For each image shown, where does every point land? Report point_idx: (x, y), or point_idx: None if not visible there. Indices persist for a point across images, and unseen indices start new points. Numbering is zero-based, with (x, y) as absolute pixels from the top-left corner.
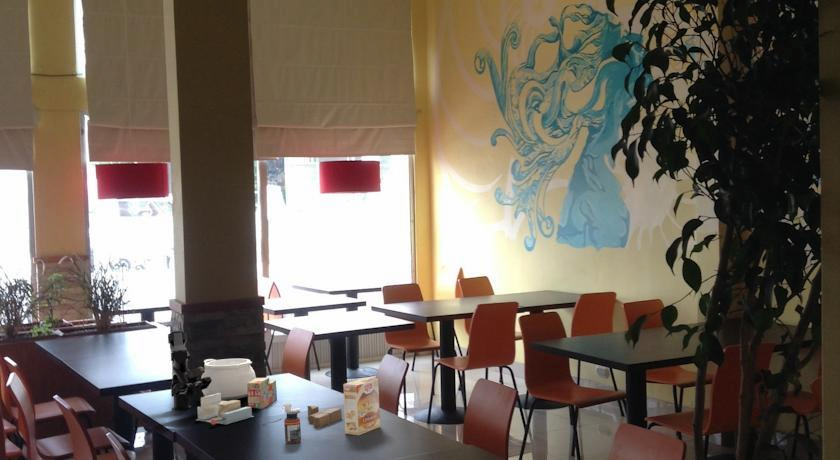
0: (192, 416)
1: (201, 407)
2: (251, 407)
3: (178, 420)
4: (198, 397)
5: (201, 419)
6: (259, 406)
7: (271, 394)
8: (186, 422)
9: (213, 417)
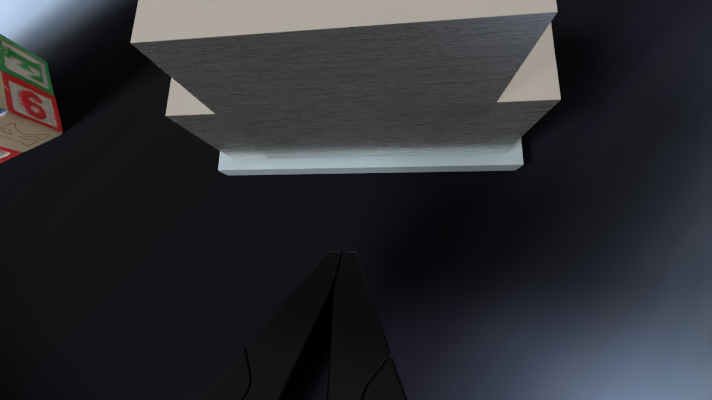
0: None
1: (545, 37)
2: (42, 107)
3: (555, 377)
4: (370, 302)
5: None
6: (24, 57)
7: None
8: (561, 237)
9: None
